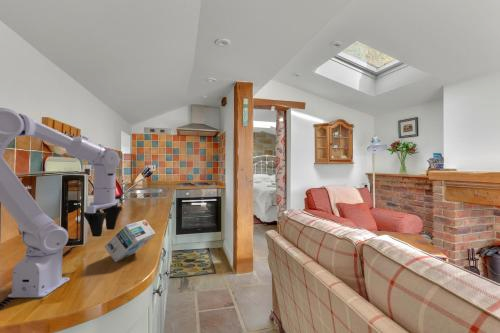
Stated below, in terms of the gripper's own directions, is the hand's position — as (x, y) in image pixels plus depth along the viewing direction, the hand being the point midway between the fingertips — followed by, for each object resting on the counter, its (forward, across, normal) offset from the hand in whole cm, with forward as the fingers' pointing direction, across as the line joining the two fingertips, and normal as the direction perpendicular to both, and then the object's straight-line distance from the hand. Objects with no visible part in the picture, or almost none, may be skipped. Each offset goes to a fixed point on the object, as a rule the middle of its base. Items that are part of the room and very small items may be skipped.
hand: (104, 232), depth 76 cm
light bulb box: (+8, -9, +1) cm, 12 cm away
